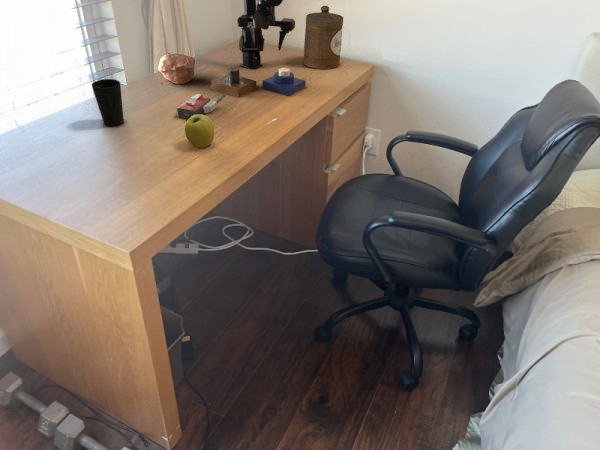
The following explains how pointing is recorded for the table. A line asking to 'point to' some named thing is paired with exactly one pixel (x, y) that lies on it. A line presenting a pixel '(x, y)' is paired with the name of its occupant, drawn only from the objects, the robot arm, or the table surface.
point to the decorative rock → (177, 67)
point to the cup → (109, 101)
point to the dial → (233, 75)
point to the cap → (284, 72)
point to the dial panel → (234, 86)
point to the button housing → (284, 84)
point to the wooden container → (323, 39)
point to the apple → (199, 130)
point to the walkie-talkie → (197, 106)
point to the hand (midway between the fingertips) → (266, 49)
